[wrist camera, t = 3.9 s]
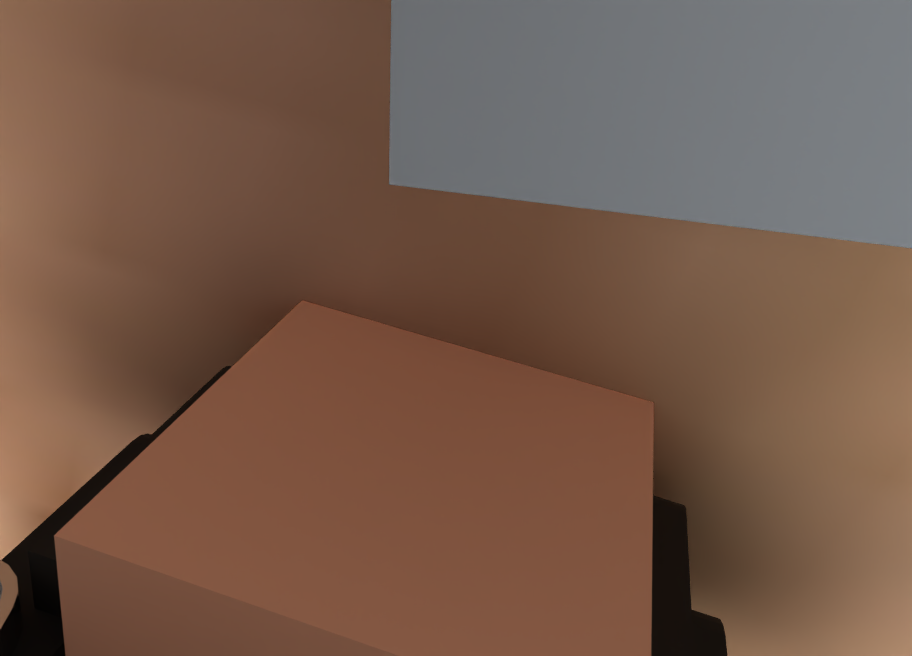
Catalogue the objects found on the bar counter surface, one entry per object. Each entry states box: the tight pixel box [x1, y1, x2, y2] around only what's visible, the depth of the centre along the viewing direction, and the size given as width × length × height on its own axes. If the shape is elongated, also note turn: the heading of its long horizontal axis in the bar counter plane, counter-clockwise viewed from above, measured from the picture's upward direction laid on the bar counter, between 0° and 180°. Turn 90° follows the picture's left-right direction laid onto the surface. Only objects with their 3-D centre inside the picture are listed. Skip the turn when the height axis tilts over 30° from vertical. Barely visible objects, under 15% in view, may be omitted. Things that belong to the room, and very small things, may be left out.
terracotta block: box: [54, 300, 654, 656], centre depth 9 cm, size 5×5×5 cm
